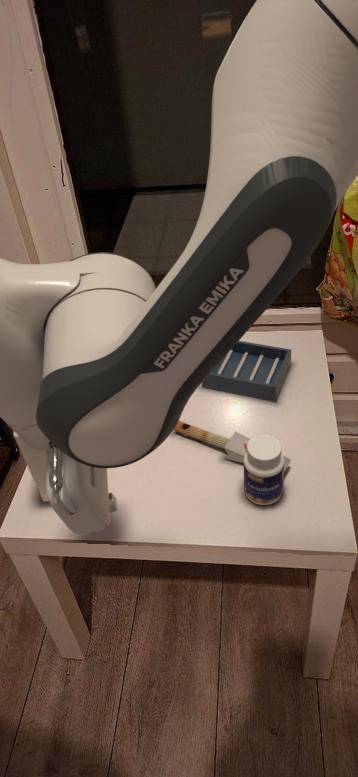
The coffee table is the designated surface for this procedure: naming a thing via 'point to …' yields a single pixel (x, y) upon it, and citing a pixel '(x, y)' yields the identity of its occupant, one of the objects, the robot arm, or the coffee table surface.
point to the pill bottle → (263, 469)
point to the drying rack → (251, 371)
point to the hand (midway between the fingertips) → (108, 471)
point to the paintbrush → (221, 441)
